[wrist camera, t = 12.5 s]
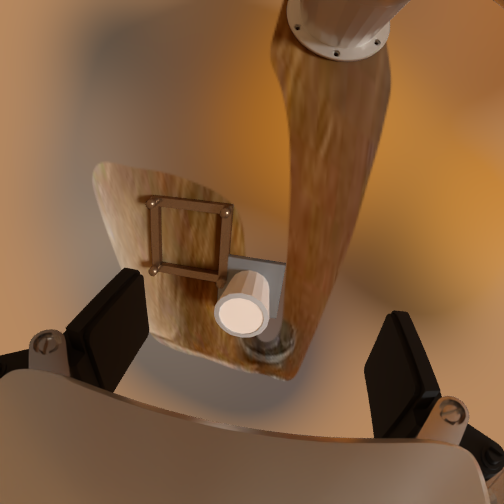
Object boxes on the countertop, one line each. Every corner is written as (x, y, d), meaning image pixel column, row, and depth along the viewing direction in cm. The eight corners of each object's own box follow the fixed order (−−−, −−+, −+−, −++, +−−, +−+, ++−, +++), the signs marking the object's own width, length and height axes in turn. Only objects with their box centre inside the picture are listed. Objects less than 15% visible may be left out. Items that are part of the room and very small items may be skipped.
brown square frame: (153, 195, 40) (145, 199, 37) (233, 204, 39) (229, 209, 36) (155, 267, 44) (148, 275, 42) (227, 280, 44) (223, 289, 41)
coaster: (221, 252, 42) (219, 255, 41) (285, 262, 41) (285, 265, 40) (218, 305, 46) (217, 308, 45) (276, 315, 45) (276, 318, 44)
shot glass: (224, 264, 42) (212, 291, 35) (274, 267, 41) (270, 296, 34) (226, 305, 44) (215, 335, 38) (272, 309, 44) (267, 340, 37)
